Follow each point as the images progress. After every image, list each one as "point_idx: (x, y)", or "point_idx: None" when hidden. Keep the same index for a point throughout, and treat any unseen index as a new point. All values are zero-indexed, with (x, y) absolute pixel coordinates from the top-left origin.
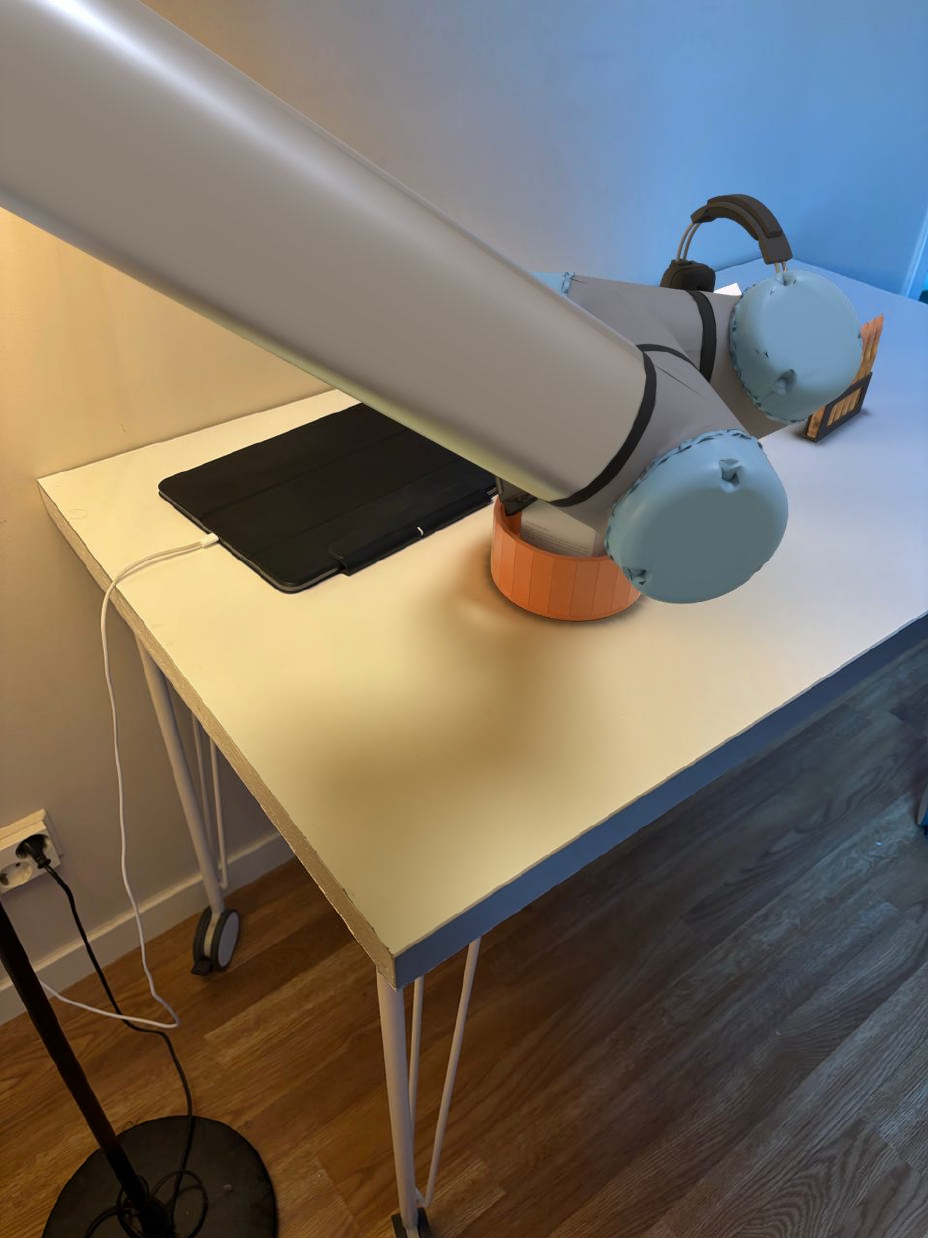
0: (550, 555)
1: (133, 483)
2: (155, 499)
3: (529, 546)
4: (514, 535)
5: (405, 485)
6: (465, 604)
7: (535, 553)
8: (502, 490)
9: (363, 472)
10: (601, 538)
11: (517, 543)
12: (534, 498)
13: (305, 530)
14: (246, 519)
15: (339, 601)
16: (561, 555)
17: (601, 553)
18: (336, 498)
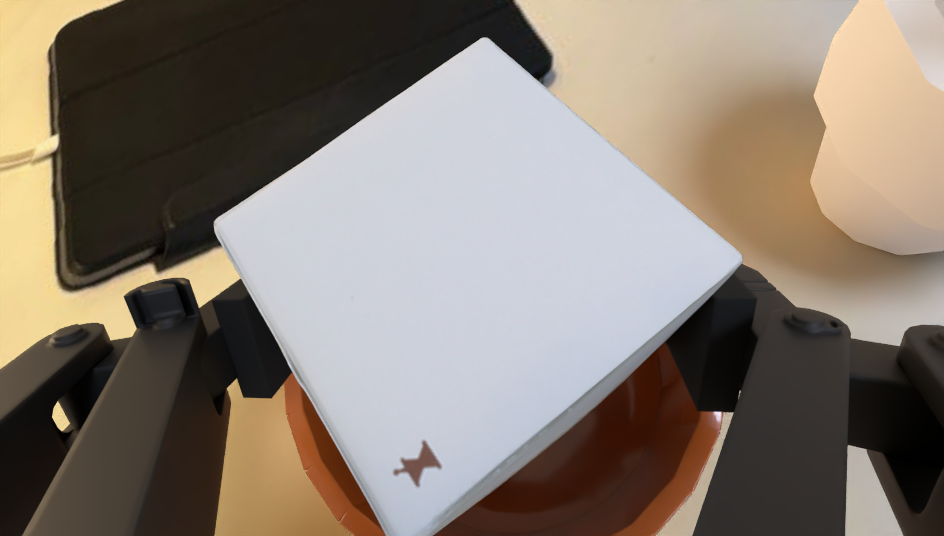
0: (332, 507)
1: (37, 24)
2: (40, 57)
3: (305, 445)
4: (296, 386)
5: (344, 77)
6: (282, 403)
7: (308, 476)
8: (66, 415)
9: (302, 40)
10: (504, 481)
11: (288, 419)
12: (258, 394)
13: (161, 153)
14: (108, 115)
15: (113, 329)
16: (361, 518)
17: (520, 469)
18: (237, 91)
